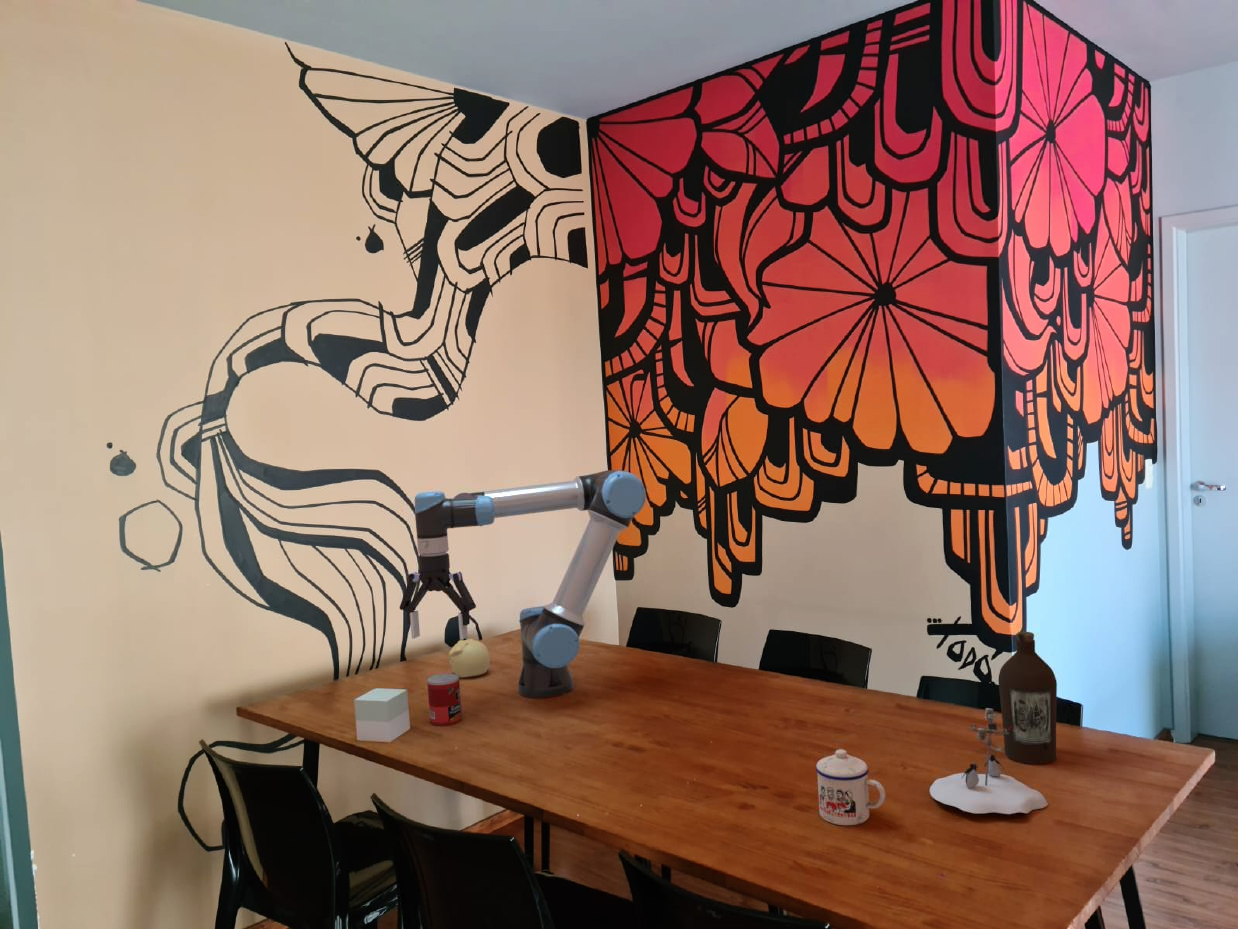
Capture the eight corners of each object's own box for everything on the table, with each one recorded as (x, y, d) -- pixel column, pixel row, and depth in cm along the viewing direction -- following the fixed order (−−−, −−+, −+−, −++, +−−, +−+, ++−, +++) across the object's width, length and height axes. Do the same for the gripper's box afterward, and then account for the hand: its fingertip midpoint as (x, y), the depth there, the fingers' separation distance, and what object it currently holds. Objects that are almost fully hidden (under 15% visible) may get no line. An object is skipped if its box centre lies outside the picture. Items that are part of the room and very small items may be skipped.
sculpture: (457, 670, 266) (454, 635, 266) (495, 669, 265) (492, 634, 264) (444, 681, 255) (442, 644, 255) (484, 680, 253) (481, 643, 253)
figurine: (984, 828, 145) (986, 730, 145) (907, 791, 162) (909, 703, 162) (1069, 812, 153) (1071, 719, 153) (988, 778, 170) (989, 694, 170)
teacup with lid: (810, 820, 154) (806, 755, 154) (829, 800, 162) (826, 738, 161) (877, 835, 147) (874, 767, 147) (894, 813, 155) (890, 749, 154)
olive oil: (998, 744, 182) (993, 626, 181) (1054, 747, 179) (1049, 627, 178) (1004, 764, 172) (999, 639, 171) (1064, 768, 169) (1059, 640, 168)
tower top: (408, 709, 215) (407, 689, 215) (388, 722, 207) (386, 701, 207) (377, 708, 218) (375, 688, 218) (355, 720, 210) (354, 699, 209)
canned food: (455, 726, 215) (452, 682, 215) (425, 726, 217) (421, 682, 216) (466, 715, 223) (463, 673, 222) (437, 715, 224) (434, 673, 224)
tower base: (410, 729, 216) (408, 709, 215) (389, 742, 207) (388, 722, 207) (378, 727, 218) (377, 708, 218) (357, 740, 210) (355, 720, 210)
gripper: (381, 556, 218) (388, 640, 219) (471, 555, 210) (477, 642, 211) (398, 552, 225) (404, 633, 226) (485, 550, 217) (491, 634, 218)
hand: (439, 637), depth 219 cm, fingers open, 13 cm apart
